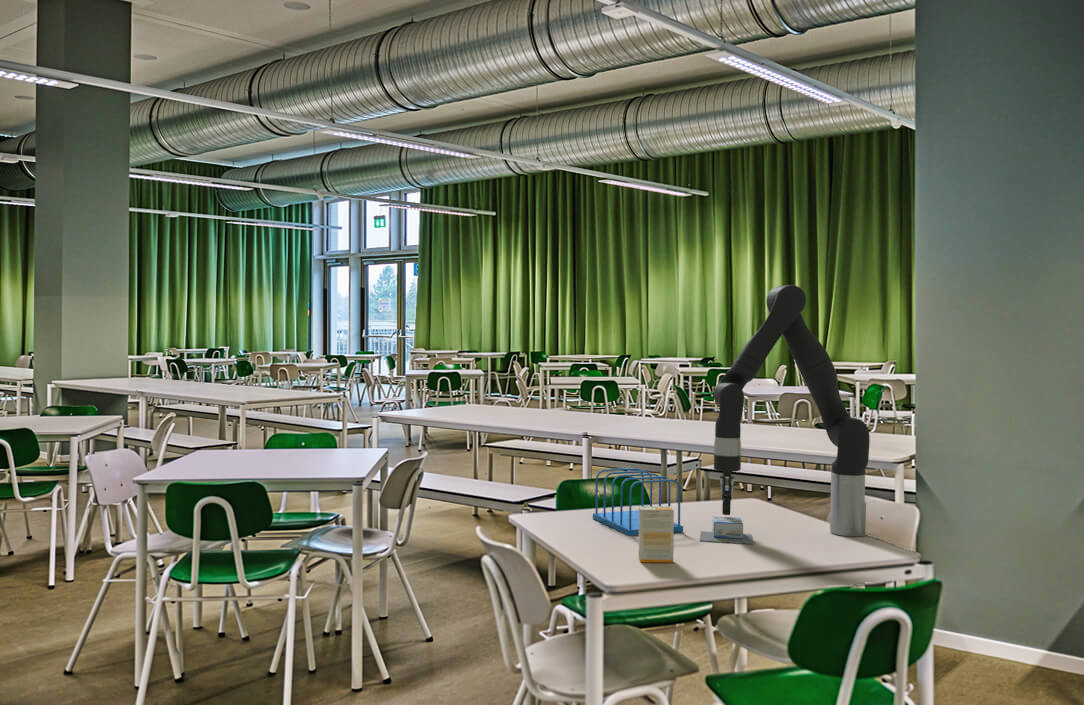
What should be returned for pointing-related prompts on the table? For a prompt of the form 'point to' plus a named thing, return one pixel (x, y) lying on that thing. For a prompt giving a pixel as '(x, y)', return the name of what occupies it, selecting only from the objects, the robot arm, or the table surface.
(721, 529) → the medicine box
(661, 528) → the supplement box
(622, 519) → the file sorter
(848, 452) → the robot arm
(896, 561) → the table surface
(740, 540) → the felt mat
